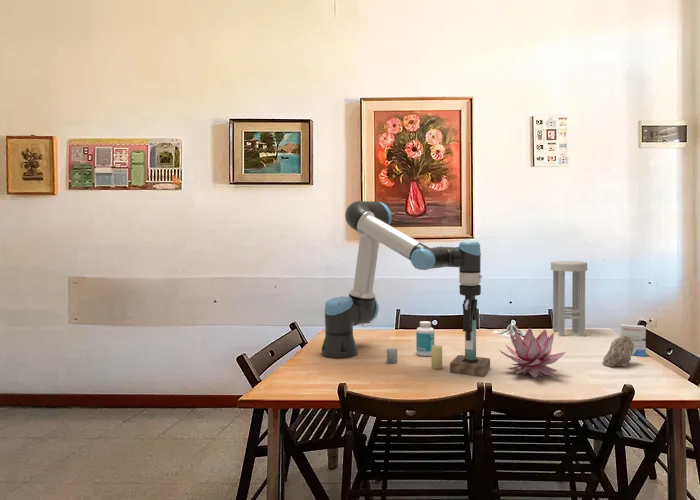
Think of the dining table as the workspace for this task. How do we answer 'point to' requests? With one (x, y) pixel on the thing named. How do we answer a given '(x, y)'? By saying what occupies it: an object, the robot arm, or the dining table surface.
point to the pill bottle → (424, 338)
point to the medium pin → (436, 356)
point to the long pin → (472, 353)
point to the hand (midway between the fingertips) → (470, 347)
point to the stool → (577, 296)
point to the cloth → (511, 328)
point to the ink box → (635, 337)
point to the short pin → (391, 356)
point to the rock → (619, 352)
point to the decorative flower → (533, 353)
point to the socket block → (470, 366)
